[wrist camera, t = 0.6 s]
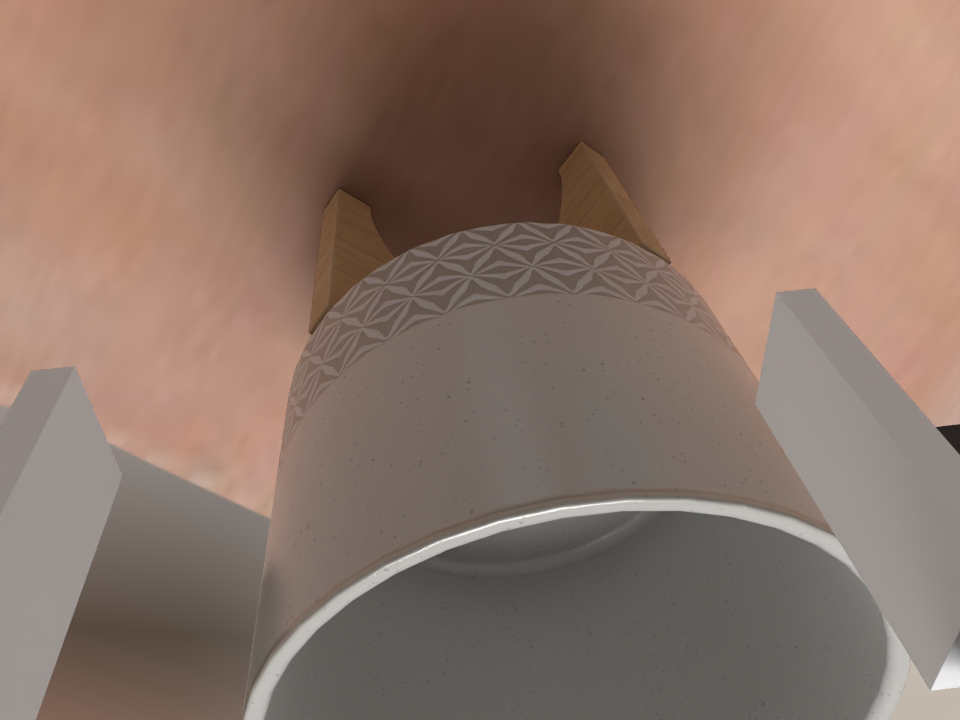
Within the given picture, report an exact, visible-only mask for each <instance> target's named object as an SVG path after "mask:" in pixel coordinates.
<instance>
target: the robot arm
mask: <svg viewBox="0 0 960 720" xmlns="http://www.w3.org/2000/svg"><path fill="white" fill-rule="evenodd" d="M755 405H756V406H757V408H758V410H759V411H760V413H761V415H762V416H763V418H764V420H765V421H766V423H767V424H768V426H769V428H770V429H771V431H772V433H773V434H774V436H775V438H776V439H777V441H778V442H779V444H780V446H781V447H782V449H783V451H784V452H785V454H786V456H787V457H788V459H789V460H790V462H791V464H792V465H793V467H794V469H795V470H796V472H797V473H798V475H799V477H800V478H801V480H802V482H803V483H804V485H805V487H806V488H807V490H808V491H809V493H810V495H811V496H812V498H813V500H814V501H815V503H816V505H817V506H818V508H819V509H820V511H821V513H822V514H823V516H824V518H825V519H826V521H827V523H828V524H829V526H830V527H831V529H832V531H833V532H834V534H835V536H836V537H837V539H838V540H839V542H840V544H841V545H842V547H843V549H844V550H845V552H846V554H847V555H848V557H849V558H850V560H851V562H852V563H853V565H854V567H855V568H856V570H857V572H858V573H859V575H860V576H861V578H862V580H863V581H864V583H865V585H866V586H867V588H868V589H869V591H870V593H871V594H872V596H873V598H874V599H875V601H876V603H877V604H878V606H879V607H880V609H881V611H882V612H883V614H884V616H885V617H886V619H887V621H888V622H889V624H890V625H891V627H892V629H893V630H894V632H895V634H896V635H897V637H898V639H899V640H900V642H901V643H902V645H903V647H904V648H905V650H906V652H907V653H908V655H909V656H910V658H911V660H912V661H913V663H914V665H915V666H916V668H917V669H918V671H919V673H920V674H921V676H922V678H923V679H924V681H925V683H926V684H927V686H928V687H929V689H930V691H932V690H939V689H947V688H955V687H960V424H958V425H950V426H941V427H935V426H934V425H933V424H932V422H931V421H930V420H929V419H928V418H927V417H926V415H925V414H924V413H923V412H922V411H921V410H920V409H919V407H918V406H917V405H916V404H915V403H914V402H913V400H912V399H911V398H910V397H909V396H908V395H907V394H906V392H905V391H904V390H903V389H902V388H901V387H900V386H899V384H898V383H897V382H896V381H895V380H894V379H893V377H892V376H891V375H890V374H889V373H888V372H887V371H886V369H885V368H884V367H883V366H882V365H881V364H880V362H879V361H878V360H877V359H876V358H875V357H874V356H873V354H872V353H871V352H870V351H869V350H868V349H867V347H866V346H865V345H864V344H863V343H862V342H861V341H860V339H859V338H858V337H857V336H856V335H855V334H854V332H853V331H852V330H851V329H850V328H849V327H848V326H847V324H846V323H845V322H844V321H843V320H842V319H841V318H840V316H839V315H838V314H837V313H836V312H835V311H834V309H833V308H832V307H831V306H830V305H829V304H828V303H827V301H826V300H825V299H824V298H823V297H822V296H821V294H820V293H819V292H818V291H817V290H816V289H815V288H813V289H804V290H794V291H785V292H776V297H775V302H774V307H773V312H772V318H771V323H770V328H769V333H768V339H767V344H766V349H765V354H764V360H763V365H762V370H761V375H760V381H759V386H758V391H757V396H756V402H755ZM121 478H122V474H121V472H120V469H119V467H118V465H117V463H116V460H115V458H114V456H113V453H112V451H111V449H110V446H109V444H108V442H107V440H106V437H105V435H104V433H103V430H102V428H101V426H100V423H99V421H98V419H97V417H96V414H95V412H94V410H93V407H92V405H91V403H90V400H89V398H88V396H87V394H86V391H85V389H84V387H83V384H82V382H81V380H80V378H79V375H78V373H77V371H76V368H75V366H73V367H64V368H54V369H45V370H35V371H31V373H30V374H29V376H28V378H27V380H26V381H25V383H24V385H23V387H22V388H21V390H20V392H19V394H18V395H17V397H16V399H15V401H14V402H13V404H12V406H11V408H10V409H9V411H8V413H7V415H6V417H5V418H4V420H3V422H2V423H1V425H0V720H36V717H37V715H38V712H39V709H40V706H41V703H42V701H43V698H44V695H45V692H46V689H47V686H48V683H49V681H50V678H51V675H52V672H53V670H54V667H55V664H56V661H57V658H58V655H59V653H60V649H61V647H62V644H63V641H64V639H65V636H66V633H67V630H68V627H69V624H70V622H71V619H72V616H73V613H74V610H75V608H76V604H77V602H78V599H79V596H80V593H81V591H82V588H83V585H84V582H85V579H86V577H87V574H88V571H89V568H90V565H91V563H92V559H93V557H94V554H95V551H96V548H97V546H98V543H99V540H100V537H101V534H102V532H103V529H104V526H105V523H106V520H107V517H108V515H109V512H110V509H111V506H112V503H113V500H114V498H115V495H116V492H117V489H118V486H119V484H120V480H121Z"/></svg>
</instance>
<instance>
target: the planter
mask: <svg viewBox="0 0 960 720" xmlns="http://www.w3.org/2000/svg"><path fill="white" fill-rule="evenodd" d="M559 173H560V176H561V180H562V204H561V210H560V216H559V221H558V224H557V223H537V222H520V223H509V224H498V225H487V226H483V227H478V228H474V229H470V230H465V231H461V232H457V233H452V234H449V235H446V236H443V237H441V238H438V239H435V240H433V241H430V242H428V243H425V244H422V245H420V246H417V247H414V248H412V249H410V250H409V251H407V252H405V253H403V254H401V255H400V256H398V257H396V258H394V257H393V255H392V254H391V253H390V251H389V250H388V248H387V247H386V245H385V244H384V242H383V241H382V239H381V237H380V235H379V233H378V231H377V229H376V227H375V225H374V223H373V220H372V217H371V209H370V207H369V206H368V205H366V204H364V203H363V202H361V201H359V200H358V199H356V198H354V197H353V196H351V195H349V194H347V193H346V192H344V191H342V190H341V189H338V190H337V192H336V193H335V195H334V196H333V198H332V199H331V201H330V203H329V204H328V206H327V207H326V209H325V210H324V212H323V220H322V228H321V236H320V244H319V253H318V261H317V269H316V277H315V285H314V293H313V301H312V310H311V318H310V326H309V333H310V334H311V335H312V336H311V337H310V339H309V340H308V342H307V344H306V347H305V349H304V351H303V353H302V355H301V357H300V359H299V362H298V364H297V366H296V368H295V372H294V376H293V380H292V384H291V388H290V392H289V396H288V403H287V410H286V417H285V424H284V431H283V438H282V445H281V452H280V459H279V466H278V473H277V480H276V487H275V494H274V501H273V508H272V515H271V522H270V529H269V536H268V542H267V549H266V557H265V563H264V570H263V577H262V584H261V592H260V599H259V605H258V612H257V619H256V626H255V634H254V640H253V647H252V654H251V661H250V668H249V675H248V682H247V689H246V696H245V703H244V710H243V717H242V720H889V719H890V717H891V716H892V714H893V712H894V710H895V708H896V706H897V705H898V703H899V701H900V699H901V697H902V694H903V690H904V687H905V684H906V680H907V678H908V674H909V671H910V660H911V658H910V656H909V655H908V653H907V652H906V650H905V648H904V647H903V645H902V643H901V642H900V640H899V639H898V637H897V635H896V634H895V632H894V630H893V629H892V627H891V625H890V624H889V622H888V621H887V619H886V617H885V616H884V614H883V612H882V611H881V609H880V607H879V606H878V604H877V603H876V601H875V599H874V598H873V596H872V594H871V593H870V591H869V589H868V588H867V586H866V585H865V583H864V581H863V580H862V578H861V576H860V575H859V573H858V572H857V570H856V568H855V567H854V565H853V563H852V562H851V560H850V558H849V557H848V555H847V554H846V552H845V550H844V549H843V547H842V545H841V544H840V542H839V540H838V539H837V537H836V536H835V534H834V532H833V531H832V529H831V527H830V526H829V524H828V523H827V521H826V519H825V518H824V516H823V514H822V513H821V511H820V509H819V508H818V506H817V505H816V503H815V501H814V500H813V498H812V496H811V495H810V493H809V491H808V490H807V488H806V487H805V485H804V483H803V482H802V480H801V478H800V477H799V475H798V473H797V472H796V470H795V469H794V467H793V465H792V464H791V462H790V460H789V459H788V457H787V456H786V454H785V452H784V451H783V449H782V447H781V446H780V444H779V442H778V441H777V439H776V438H775V436H774V434H773V433H772V431H771V429H770V428H769V426H768V424H767V423H766V421H765V420H764V418H763V416H762V415H761V413H760V411H759V410H758V408H757V406H756V405H755V402H756V396H757V391H758V386H759V382H758V380H757V379H756V377H755V376H754V374H753V373H752V371H751V370H750V368H749V367H748V365H747V364H746V362H745V361H744V359H743V357H742V356H741V354H740V353H739V351H738V350H737V348H736V347H735V345H734V344H733V342H732V341H731V339H730V338H729V336H728V335H727V333H726V332H725V330H724V329H723V327H722V326H721V324H720V323H719V321H718V320H717V318H716V317H715V315H714V314H713V312H712V311H711V309H710V308H709V306H708V305H707V303H706V302H705V300H704V299H703V298H702V297H701V296H700V294H699V293H698V292H697V291H696V290H695V289H694V287H693V286H692V285H691V284H690V283H689V281H688V280H687V279H686V278H685V277H683V276H682V275H681V274H680V273H678V272H677V271H676V270H675V269H674V268H672V267H671V266H670V265H669V264H670V263H671V261H670V259H669V258H668V256H667V254H666V253H665V251H664V250H663V248H662V247H661V245H660V244H659V242H658V240H657V239H656V237H655V236H654V234H653V233H652V231H651V230H650V228H649V227H648V225H647V223H646V222H645V220H644V219H643V217H642V216H641V214H640V213H639V211H638V209H637V208H636V206H635V205H634V203H633V202H632V200H631V199H630V197H629V195H628V194H627V192H626V191H625V189H624V188H623V186H622V185H621V183H620V182H619V180H618V178H617V177H616V175H615V174H614V172H613V171H612V169H611V168H610V166H609V164H608V163H607V161H606V160H605V158H604V157H603V156H602V155H600V154H599V153H597V152H596V151H595V150H593V149H592V148H591V147H589V146H588V145H586V144H585V143H584V142H580V143H579V144H578V146H577V147H576V148H575V149H574V151H573V152H572V153H571V155H570V156H569V157H568V158H567V160H566V161H565V162H564V164H563V165H562V166H561V167H560V169H559Z"/></svg>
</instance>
